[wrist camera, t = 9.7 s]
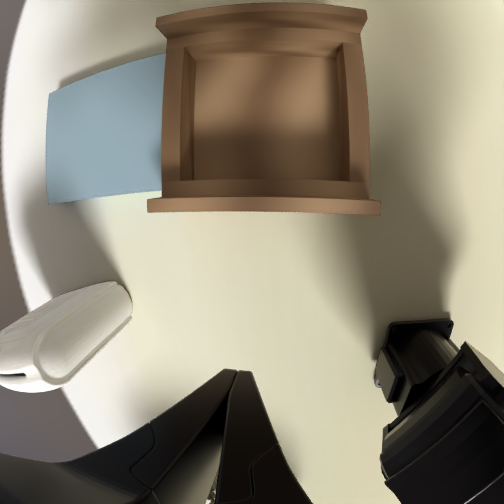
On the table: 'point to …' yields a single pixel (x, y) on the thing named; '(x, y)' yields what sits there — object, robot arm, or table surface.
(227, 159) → the slide box
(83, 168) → the cover plate
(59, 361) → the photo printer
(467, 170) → the table surface
